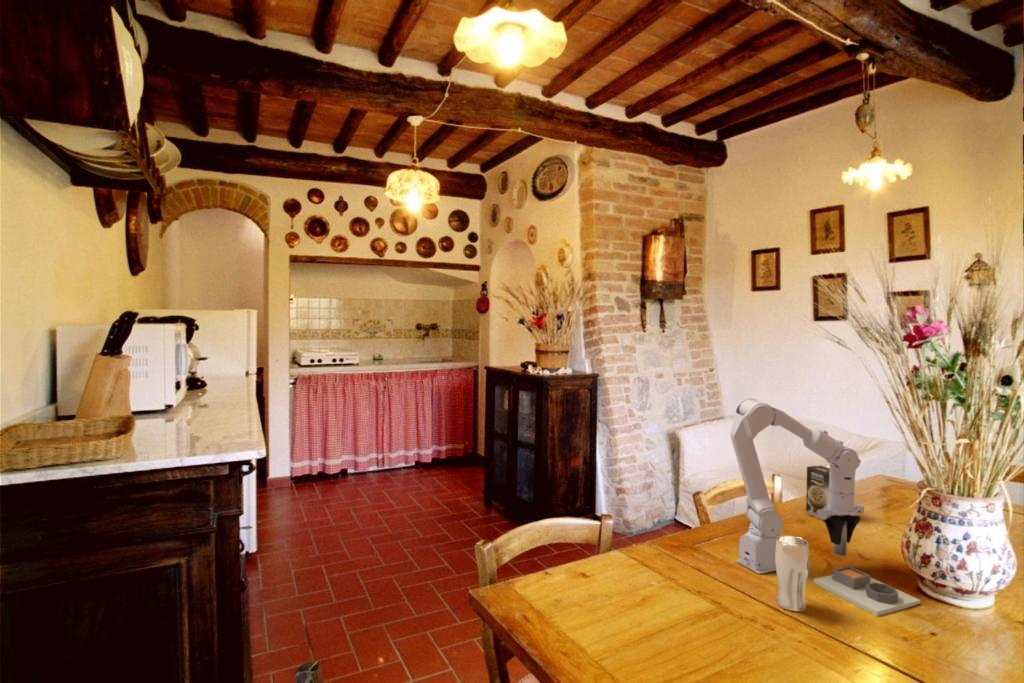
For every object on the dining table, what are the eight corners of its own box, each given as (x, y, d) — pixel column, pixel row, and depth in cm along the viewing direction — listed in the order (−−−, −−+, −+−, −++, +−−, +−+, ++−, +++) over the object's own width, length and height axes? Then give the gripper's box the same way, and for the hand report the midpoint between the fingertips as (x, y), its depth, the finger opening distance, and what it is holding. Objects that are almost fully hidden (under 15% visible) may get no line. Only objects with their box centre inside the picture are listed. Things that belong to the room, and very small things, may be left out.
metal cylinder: (841, 556, 139) (841, 522, 139) (830, 551, 142) (831, 518, 142) (849, 554, 141) (850, 521, 140) (838, 550, 143) (839, 517, 143)
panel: (877, 616, 118) (877, 600, 118) (813, 582, 133) (813, 569, 133) (920, 604, 123) (920, 589, 123) (854, 573, 138) (854, 560, 138)
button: (852, 583, 129) (852, 578, 129) (839, 576, 132) (839, 571, 132) (863, 580, 130) (863, 575, 130) (849, 574, 133) (849, 569, 133)
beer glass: (790, 615, 118) (791, 548, 118) (767, 599, 125) (768, 536, 124) (815, 611, 120) (817, 545, 120) (791, 595, 127) (793, 533, 126)
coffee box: (804, 513, 181) (805, 466, 180) (819, 511, 183) (820, 464, 182) (828, 523, 172) (829, 473, 172) (843, 521, 174) (844, 472, 173)
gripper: (835, 499, 135) (833, 552, 135) (875, 493, 140) (874, 544, 140) (810, 490, 141) (809, 541, 142) (850, 485, 146) (849, 534, 147)
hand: (840, 542), depth 141 cm, fingers closed on metal cylinder, 3 cm apart
